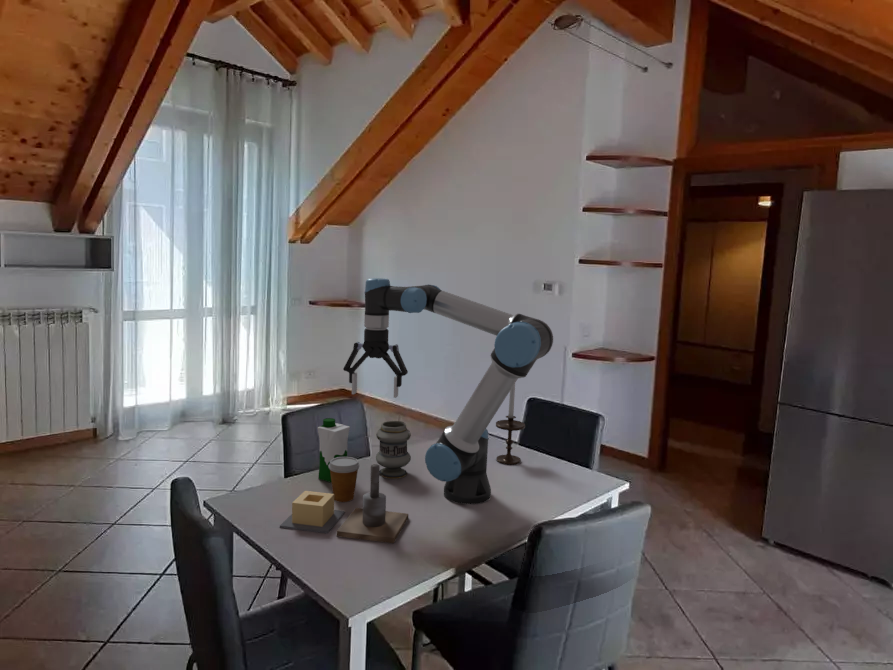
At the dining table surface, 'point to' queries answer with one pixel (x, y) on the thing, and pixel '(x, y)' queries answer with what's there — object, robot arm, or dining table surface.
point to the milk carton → (331, 445)
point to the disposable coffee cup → (343, 477)
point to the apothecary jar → (393, 449)
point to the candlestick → (510, 432)
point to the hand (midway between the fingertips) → (374, 395)
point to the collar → (313, 508)
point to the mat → (324, 529)
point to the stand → (373, 517)
